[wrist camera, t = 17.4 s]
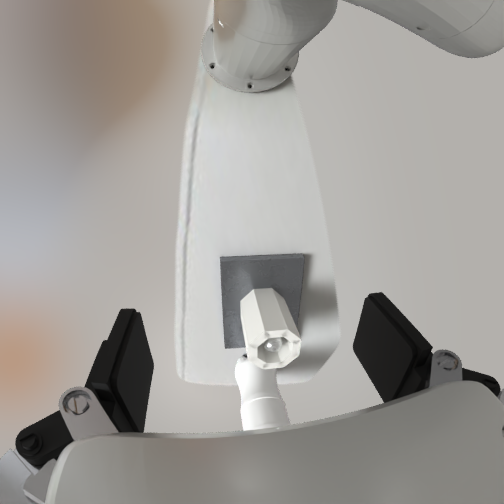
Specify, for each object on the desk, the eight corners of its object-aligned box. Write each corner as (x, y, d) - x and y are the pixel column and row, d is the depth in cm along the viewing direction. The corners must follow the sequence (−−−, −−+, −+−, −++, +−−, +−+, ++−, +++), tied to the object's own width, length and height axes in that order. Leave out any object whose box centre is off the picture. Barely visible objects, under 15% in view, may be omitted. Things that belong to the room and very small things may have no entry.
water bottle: (280, 357, 49) (317, 476, 27) (254, 378, 51) (278, 493, 28) (251, 340, 47) (280, 472, 24) (225, 364, 48) (239, 489, 26)
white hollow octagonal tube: (240, 289, 41) (248, 332, 32) (284, 286, 42) (303, 327, 33) (240, 325, 43) (248, 371, 34) (281, 322, 44) (297, 365, 35)
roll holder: (220, 257, 40) (223, 299, 30) (301, 253, 42) (328, 291, 31) (224, 342, 46) (229, 392, 36) (293, 337, 48) (310, 383, 38)
